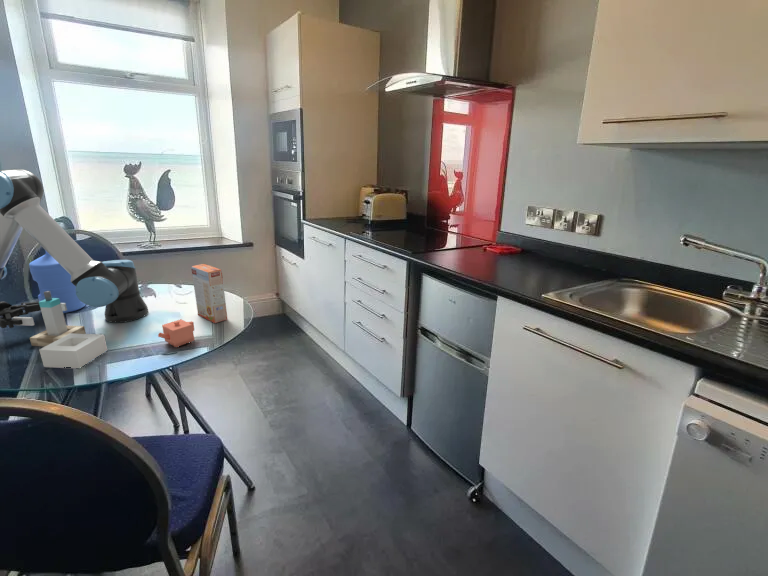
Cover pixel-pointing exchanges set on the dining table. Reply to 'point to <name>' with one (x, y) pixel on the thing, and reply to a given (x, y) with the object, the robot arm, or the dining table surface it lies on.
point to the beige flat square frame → (46, 339)
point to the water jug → (55, 282)
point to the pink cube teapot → (178, 332)
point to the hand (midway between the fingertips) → (49, 313)
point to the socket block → (73, 350)
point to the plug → (53, 315)
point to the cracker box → (209, 292)
